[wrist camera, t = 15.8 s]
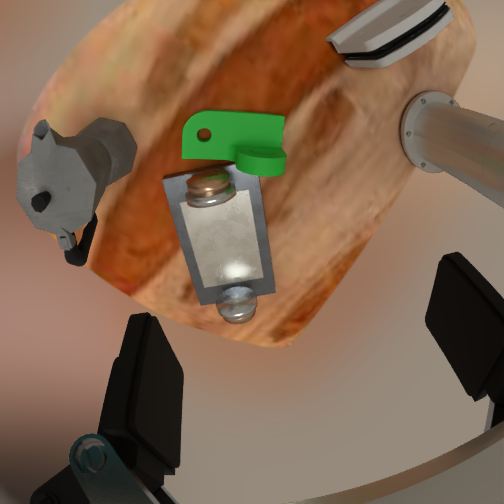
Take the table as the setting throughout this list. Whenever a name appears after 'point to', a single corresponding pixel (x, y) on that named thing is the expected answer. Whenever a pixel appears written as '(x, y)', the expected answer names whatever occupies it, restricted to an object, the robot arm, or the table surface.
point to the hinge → (390, 31)
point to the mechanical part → (238, 140)
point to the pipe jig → (223, 237)
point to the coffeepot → (72, 180)
